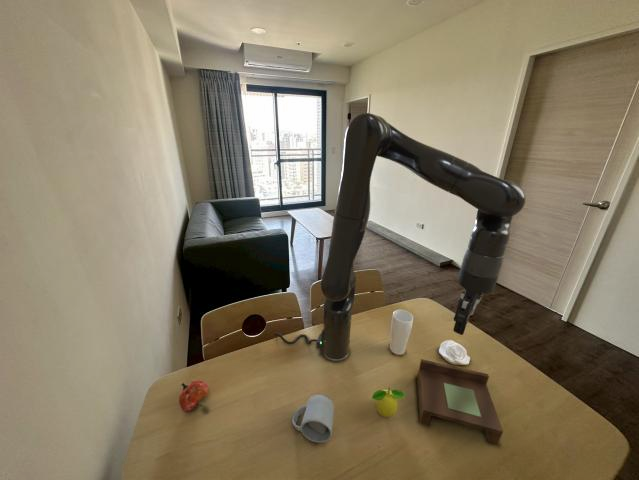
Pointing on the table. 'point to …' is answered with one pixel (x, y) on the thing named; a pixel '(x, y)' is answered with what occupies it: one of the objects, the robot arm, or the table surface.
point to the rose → (454, 353)
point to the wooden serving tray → (457, 397)
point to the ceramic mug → (316, 418)
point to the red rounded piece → (192, 395)
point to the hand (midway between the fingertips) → (463, 324)
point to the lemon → (387, 401)
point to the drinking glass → (400, 331)
